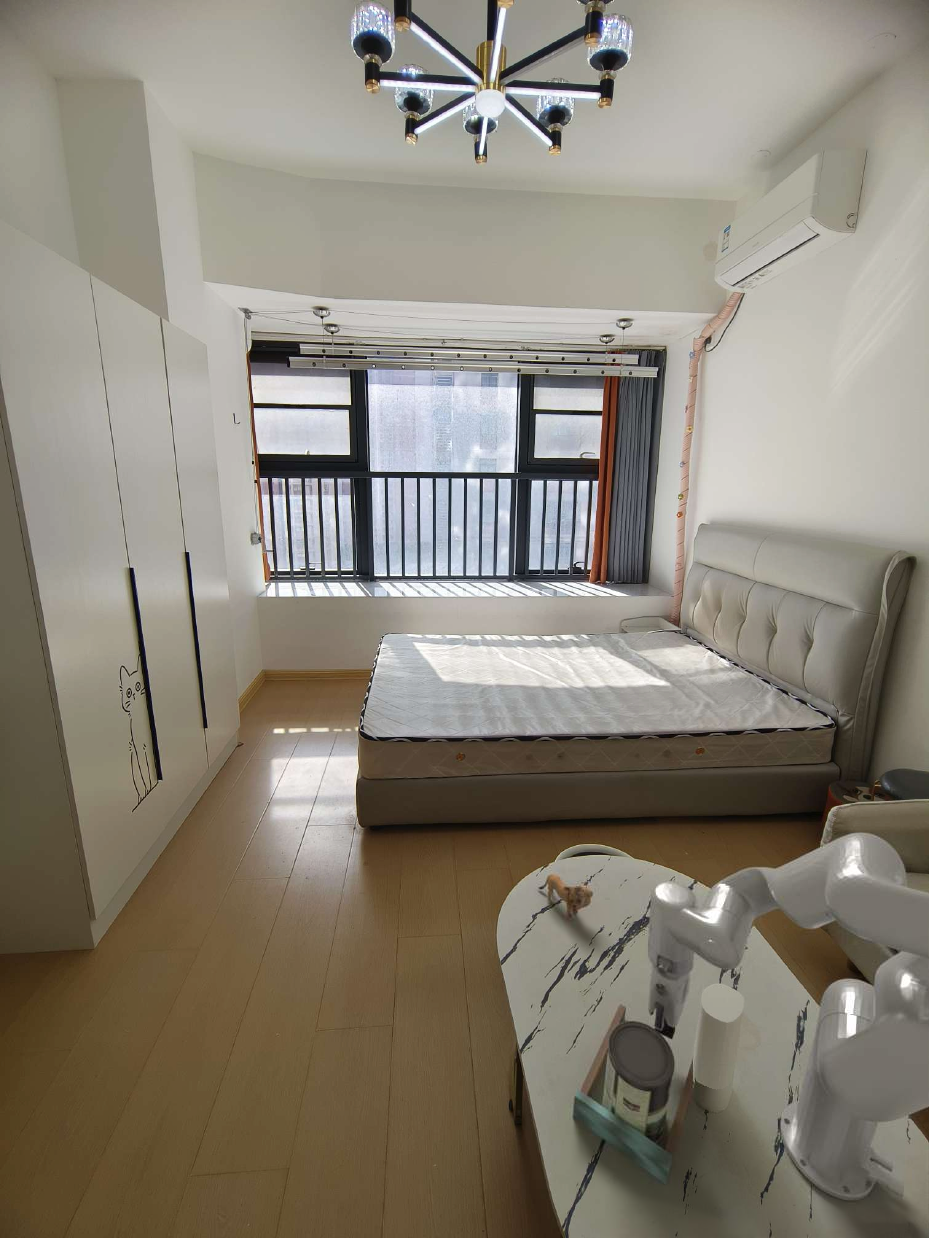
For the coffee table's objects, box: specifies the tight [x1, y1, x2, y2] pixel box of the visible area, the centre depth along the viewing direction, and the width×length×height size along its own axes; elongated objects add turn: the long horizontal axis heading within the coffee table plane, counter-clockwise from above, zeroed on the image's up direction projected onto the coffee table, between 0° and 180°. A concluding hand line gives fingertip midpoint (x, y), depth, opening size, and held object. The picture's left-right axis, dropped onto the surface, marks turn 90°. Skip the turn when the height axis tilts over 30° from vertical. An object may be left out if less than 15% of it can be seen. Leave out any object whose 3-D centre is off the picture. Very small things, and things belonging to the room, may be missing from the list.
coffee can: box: [601, 1020, 676, 1145], centre depth 90 cm, size 10×10×14 cm
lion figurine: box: [538, 873, 594, 920], centre depth 133 cm, size 15×5×9 cm, turn 47°
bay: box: [572, 1003, 694, 1185], centre depth 95 cm, size 15×21×5 cm
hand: (664, 1031), depth 100 cm, fingers closed
